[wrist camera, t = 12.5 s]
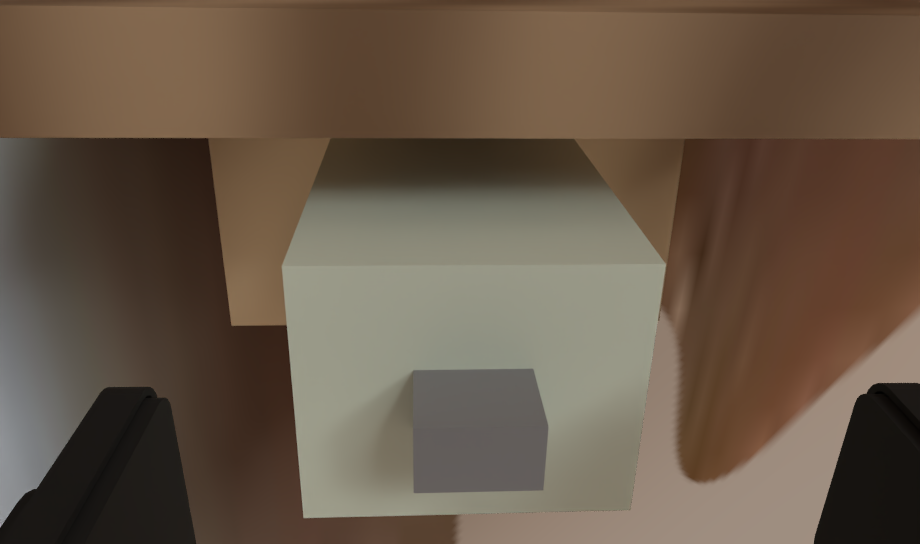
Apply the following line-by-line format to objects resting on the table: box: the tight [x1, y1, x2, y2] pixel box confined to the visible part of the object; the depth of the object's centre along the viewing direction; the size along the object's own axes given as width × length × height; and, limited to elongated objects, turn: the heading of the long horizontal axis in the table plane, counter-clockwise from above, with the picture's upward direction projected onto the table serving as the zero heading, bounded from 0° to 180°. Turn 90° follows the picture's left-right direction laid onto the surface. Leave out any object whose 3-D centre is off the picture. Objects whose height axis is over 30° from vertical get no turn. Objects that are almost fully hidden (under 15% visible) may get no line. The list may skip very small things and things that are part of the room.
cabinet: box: [282, 138, 666, 518], centre depth 16 cm, size 6×5×10 cm
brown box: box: [0, 0, 920, 326], centre depth 18 cm, size 18×14×11 cm
